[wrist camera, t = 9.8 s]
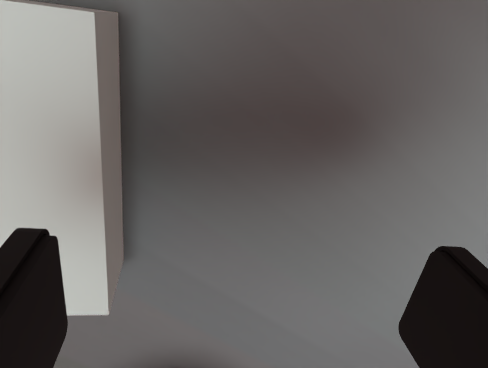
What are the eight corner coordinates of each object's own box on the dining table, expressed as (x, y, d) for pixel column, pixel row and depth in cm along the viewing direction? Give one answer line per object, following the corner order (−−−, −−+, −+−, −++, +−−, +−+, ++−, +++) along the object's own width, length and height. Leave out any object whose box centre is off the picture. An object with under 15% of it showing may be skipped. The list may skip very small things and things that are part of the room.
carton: (118, 11, 14) (94, 11, 10) (124, 258, 19) (108, 315, 15) (-133, -23, 12) (-265, -37, 9) (-55, 255, 17) (-118, 317, 14)
